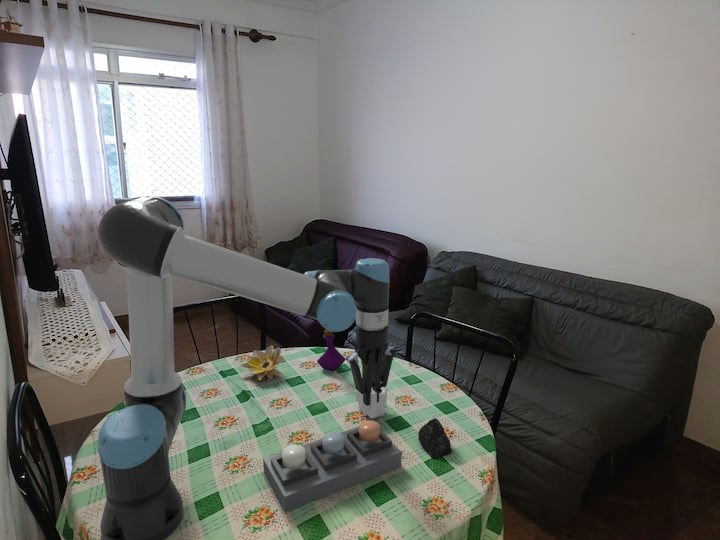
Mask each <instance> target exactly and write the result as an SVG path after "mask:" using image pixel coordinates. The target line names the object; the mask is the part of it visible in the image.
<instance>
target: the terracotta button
mask: <svg viewBox="0 0 720 540" xmlns="http://www.w3.org/2000/svg"><path fill="white" fill-rule="evenodd" d="M358 427H359V437H360V439H361V440H363V441H366V442H374V441H376V440H378V439H379V437H380V430H381V425H380V424H379V423H378V422H376V421H374V420H364V421H361V422H360V423H359V425H358Z"/></svg>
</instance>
